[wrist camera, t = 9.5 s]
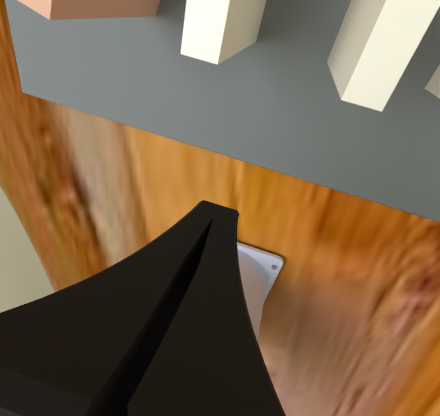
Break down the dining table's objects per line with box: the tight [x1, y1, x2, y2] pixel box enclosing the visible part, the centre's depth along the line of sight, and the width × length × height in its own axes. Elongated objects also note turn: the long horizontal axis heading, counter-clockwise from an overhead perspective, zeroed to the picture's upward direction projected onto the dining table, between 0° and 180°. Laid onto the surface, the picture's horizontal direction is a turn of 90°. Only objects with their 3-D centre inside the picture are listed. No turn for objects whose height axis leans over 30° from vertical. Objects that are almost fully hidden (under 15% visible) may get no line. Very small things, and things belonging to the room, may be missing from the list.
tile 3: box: [327, 0, 440, 112], centre depth 10 cm, size 5×1×8 cm, turn 168°
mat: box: [5, 0, 440, 222], centre depth 15 cm, size 15×34×1 cm, turn 78°
